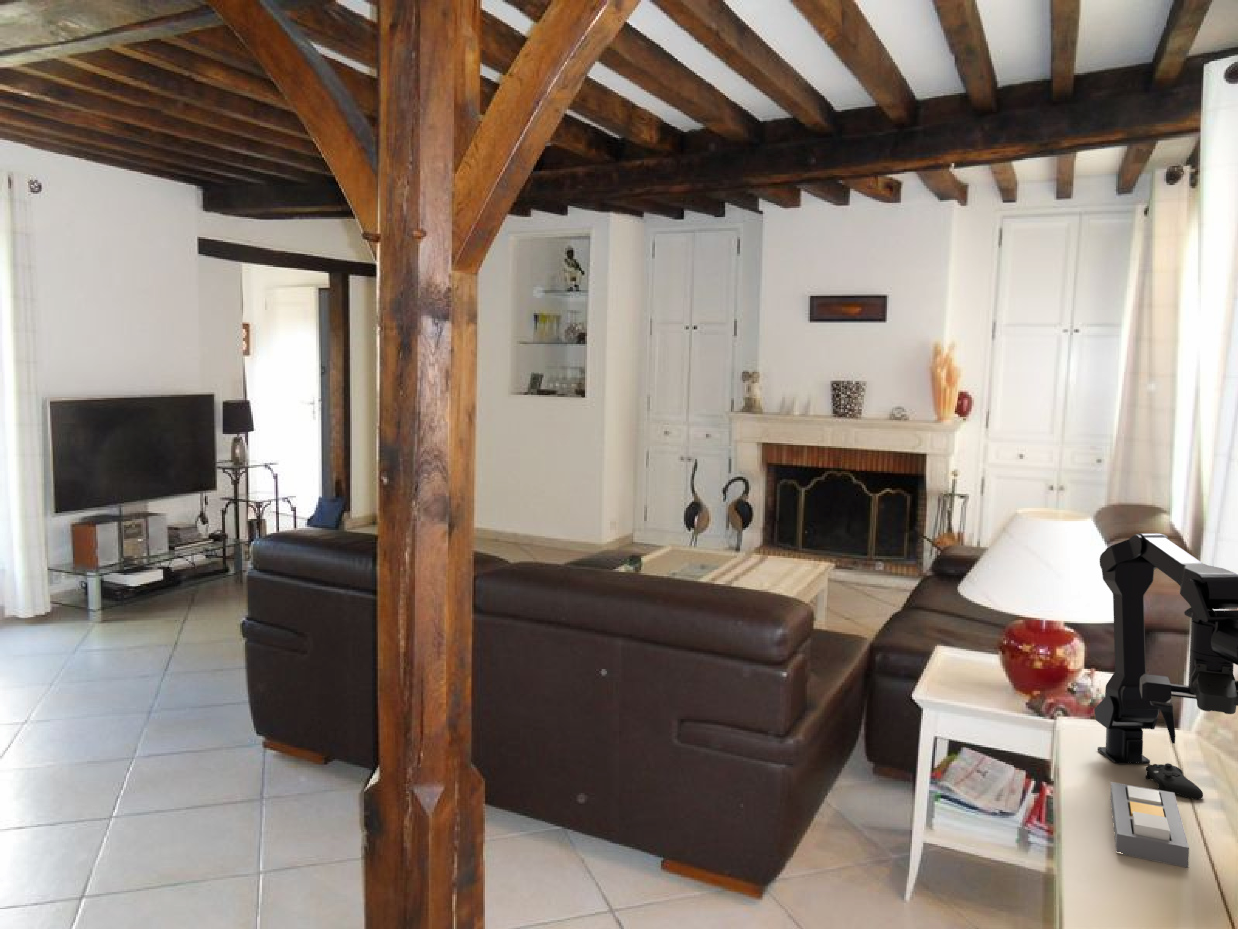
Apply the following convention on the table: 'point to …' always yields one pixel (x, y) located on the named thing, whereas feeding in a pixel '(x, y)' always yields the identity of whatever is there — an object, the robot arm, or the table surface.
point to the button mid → (1145, 809)
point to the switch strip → (1142, 845)
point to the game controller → (1172, 780)
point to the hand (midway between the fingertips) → (1207, 747)
